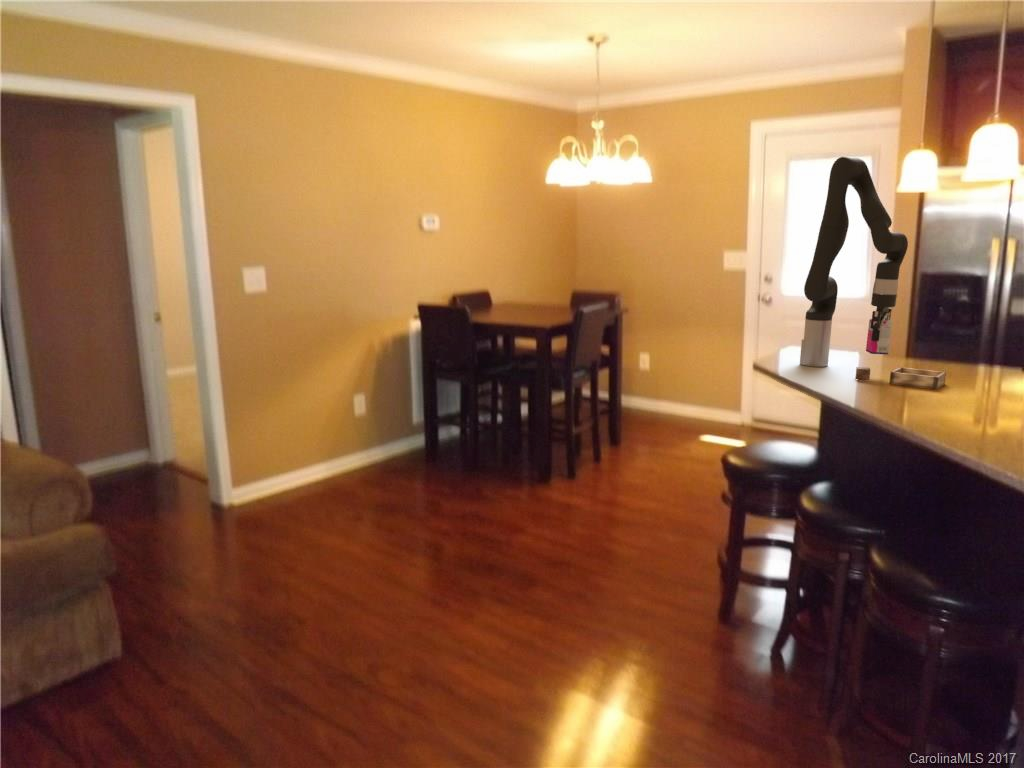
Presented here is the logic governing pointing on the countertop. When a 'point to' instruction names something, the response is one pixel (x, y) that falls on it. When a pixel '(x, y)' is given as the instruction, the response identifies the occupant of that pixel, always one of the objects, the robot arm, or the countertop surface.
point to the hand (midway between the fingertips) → (878, 339)
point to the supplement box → (884, 339)
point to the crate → (917, 378)
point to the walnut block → (862, 373)
